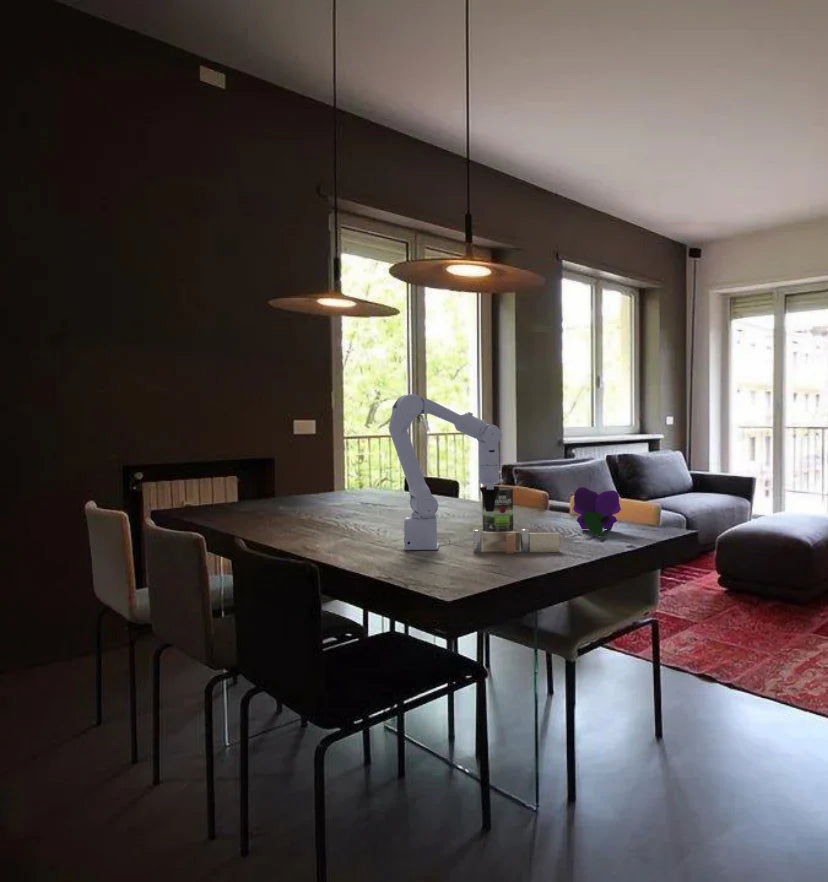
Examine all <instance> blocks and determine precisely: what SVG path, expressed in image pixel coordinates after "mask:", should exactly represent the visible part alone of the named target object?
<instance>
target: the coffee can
mask: <svg viewBox="0 0 828 882" xmlns="http://www.w3.org/2000/svg"><path fill="white" fill-rule="evenodd" d="M483 532H515V531H514V488H513V487H509V486H499V491H498V493H497V496H496V500H495V507H494V511H493V512H486V508H485V503H484V498H483V495H482V494H481V533H483Z"/></svg>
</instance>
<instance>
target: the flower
mask: <svg viewBox="0 0 828 882" xmlns="http://www.w3.org/2000/svg"><path fill="white" fill-rule="evenodd" d="M573 504H574V505H573V506H572V507H573V508H572V510H573V511H574V513H576V514H578V515H579V516H578V517H577V518H576V522H577V523H578V524H579V527H580V529H581V530H582V529H588V531H589V532H590V533H592V534H593V535H594V536H597V537H598V536H601V537H602V536H604V535H606V534H607V533H608V532H610V530H611V531H612V529H613V526H614V524H615V523H616V522H617V521H618V520H617V517H616V516H615V515H616V514H618V513H620V512H621V510H622V508H621V504H620V495H619V493H618V492H617V491H616V490H606V491H602V492H600V493H597V492H595V491H592V490H591V489H588V488H586V487H583V486H581V487H579V488H577V489H576V490H575V492H574V495H573ZM604 529H607V530H604Z"/></svg>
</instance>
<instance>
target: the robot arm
mask: <svg viewBox="0 0 828 882" xmlns="http://www.w3.org/2000/svg"><path fill="white" fill-rule="evenodd" d="M391 409H392V410H391V415H390V420H389V425H388V430H389V434H390V437H391V440H392V442H393V446H394V448H395V451H396V454H397V457H398V460H399V462H400V465H401V468H402V471H403V475H404V478H405V479H406V482H407V485H408V494H409V497H410V499H409V506H410V508H411V510H412V513H411V516H406V517H405V516H404V519H403V530H404V531H403V534H404V536H403V543H404V549H405V550H404V551H412V550H413V551H423V550H424V551H425V550H426V551H434V550H435V551H437V550H439V546H440V542H438V525H437V523H438V521H437V519H438V517H437V514H436V513H437V512H438V510H439V503H438V500H437V499H436V497H434V496H433V495H432V492H431V489H430V487H429V486H428V485H427V483H426V480H425V477H424V475H423V472H422V469H421V466H420V463H419V460H418V457H417V454H416V451H415V449H414V445H413V443H412V439H411V436H410V434H409V431H408V430H409V428H410V426H411V424H412V423H413V421H414V420H415V419H416V418H417V417H418V416H419V415H431V416H434V417H436V418H439V419H441V420H444V421H445V422H448V423H450V424H453V425H454V428H455V430H456V431H457V432H460V433H462V434H464V435H466V436H468V437H470V438H473V439H475V440H476V441H478V460H479V462H478V463H479V464H478V467H479V468H478V469H479V472H478V473H479V474H478V475H479V479H478V484H481V485H484V486H482V487H481V486H480V487H479V490H480V493H481V496H482V495H483V498H484V503H485V508H486V512H493V511H494V507H495V500H496V496H497V493H498V491H499V487H500V486H497V484H501V483H504V479H500V462H499V461H500V453H499V452H500V451H499V450H500V449H499V442H500V441H501V439H502V435H503V434H502V433H501V430H500V428H499V427H498V426H497V425H495V424H492V423H490V424H489V423H488V420H486V419H481V418H478V417H476V416H475V415H474V413H473V412H470V411H467V412H461V413H457V412H455V411H453V410H451V409H449V408H447V407H445V406H444V405H441V404H439V403H438V402H436V401H434V400H431V399H430V398H426V397H423V396H419V395H417V394H416V393H415V394H414V393H409V394H405V395H404V394H403V395H401V396H399V397H398V398H397V399H396V401H395V402H394V404H393V405H392V407H391Z"/></svg>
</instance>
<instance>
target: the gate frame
mask: <svg viewBox="0 0 828 882" xmlns="http://www.w3.org/2000/svg"><path fill="white" fill-rule="evenodd" d="M519 533H520V552H521V553H524V552H527V553H560V533H559V532H530V529H528V528H527V529H526V528H521V529H520V530H519ZM472 552H473V553H474V552H481V553H482V552H483V532H482V529H472ZM505 552H506V553H505V554H515V551H514V535H513V534H506V551H505Z"/></svg>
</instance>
